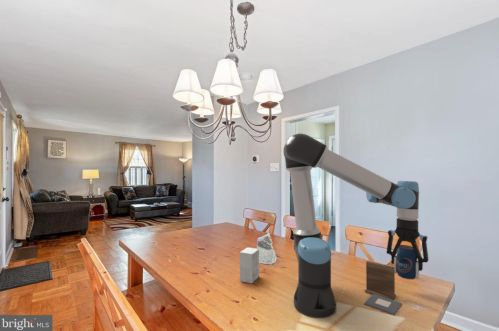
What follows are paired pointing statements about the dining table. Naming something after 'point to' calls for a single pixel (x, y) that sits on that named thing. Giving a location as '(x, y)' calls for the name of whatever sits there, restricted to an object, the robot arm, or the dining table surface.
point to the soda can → (406, 262)
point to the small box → (249, 265)
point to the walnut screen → (380, 280)
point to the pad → (383, 304)
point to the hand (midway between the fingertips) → (406, 275)
